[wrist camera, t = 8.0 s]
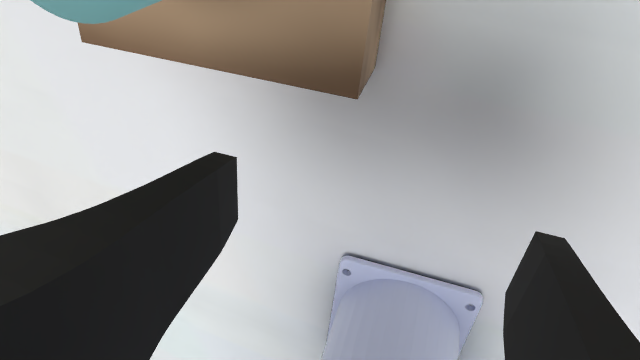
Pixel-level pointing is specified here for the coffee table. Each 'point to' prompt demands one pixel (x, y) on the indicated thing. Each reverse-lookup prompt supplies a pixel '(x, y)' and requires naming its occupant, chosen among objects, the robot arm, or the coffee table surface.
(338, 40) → the walnut block
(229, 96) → the coffee table surface
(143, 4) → the teal tin
